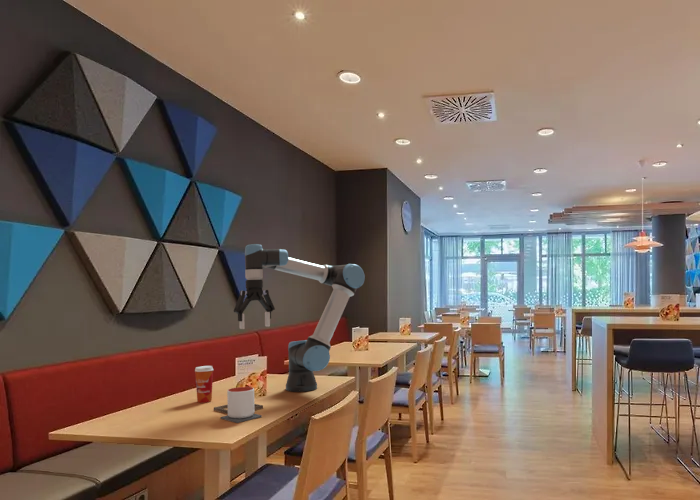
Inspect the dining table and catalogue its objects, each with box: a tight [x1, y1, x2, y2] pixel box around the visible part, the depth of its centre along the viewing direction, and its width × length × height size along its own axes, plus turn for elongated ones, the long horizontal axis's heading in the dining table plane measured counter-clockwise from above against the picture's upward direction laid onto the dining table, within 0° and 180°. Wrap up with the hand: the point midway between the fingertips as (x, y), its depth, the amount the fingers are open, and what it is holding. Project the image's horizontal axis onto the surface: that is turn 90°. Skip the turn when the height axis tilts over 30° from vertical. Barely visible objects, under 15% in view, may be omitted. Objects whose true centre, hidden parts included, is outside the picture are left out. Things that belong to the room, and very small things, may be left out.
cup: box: [226, 386, 256, 419], centre depth 200 cm, size 10×10×10 cm
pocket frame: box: [213, 403, 264, 415], centre depth 214 cm, size 14×14×1 cm
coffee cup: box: [194, 365, 214, 404], centre depth 232 cm, size 8×8×15 cm
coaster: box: [220, 413, 263, 424], centre depth 199 cm, size 11×11×1 cm
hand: (255, 327), depth 231 cm, fingers open, 13 cm apart
